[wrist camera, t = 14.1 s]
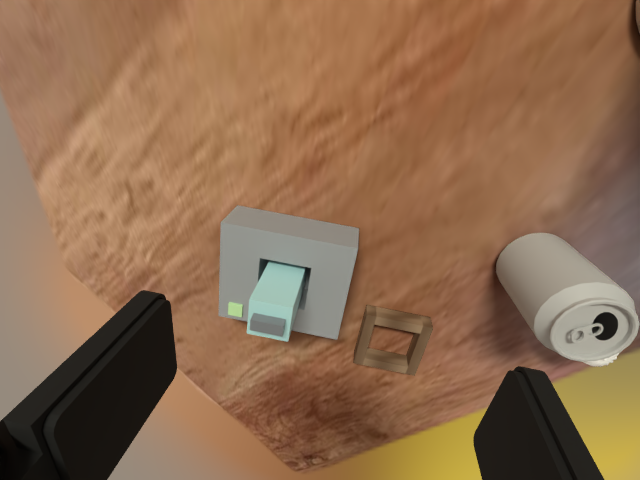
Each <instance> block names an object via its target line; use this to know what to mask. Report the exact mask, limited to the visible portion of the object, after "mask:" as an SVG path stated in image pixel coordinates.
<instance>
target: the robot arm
mask: <svg viewBox="0 0 640 480" xmlns="http://www.w3.org/2000/svg"><path fill="white" fill-rule="evenodd" d="M636 22H637V26H638V30H639V34H640V0H636ZM176 371H177V362H176V352H175V342H174V333H173V323H172V314H171V304H170V302H169V301H168V300H166V298H165V296H164V295H163V294H160V293H155V292H150V291H145V290H143V291H140V292H139V293H138V294H137V295H136V296H134V297H133V298H132V299H131V300H130V301H129V302H128V303H127V304H126V305H125V306H124V307H123V308H122V309H121V310H119V311H118V312H117V313H116V314H115V315H114V316H113V317H112V318H111V319H110V320H109V321H108V322H107V323H106V324H104V325H103V326H102V327H101V328H100V329H99V330H98V331H97V332H96V333H95V334H94V335H93V336H92V337H90V338H89V339H88V340H87V341H86V342H85V343H84V344H83V345H82V346H81V347H79V348H78V349H77V350H76V351H75V352H74V353H73V354H72V355H71V356H70V357H69V358H68V359H67V360H66V361H64V362H63V363H62V364H61V365H60V366H59V367H58V368H57V369H56V370H55V371H54V372H53V373H52V374H50V375H49V376H48V377H47V378H46V379H45V380H44V381H43V382H42V383H41V384H40V385H39V386H38V387H37V388H35V389H34V390H33V391H32V392H31V393H30V394H29V395H28V396H27V397H26V398H25V399H24V400H23V401H22V402H20V403H19V404H18V405H17V406H16V407H15V408H14V409H13V410H12V411H11V412H10V413H9V414H8V415H7V416H6V417H4V418H3V419H2V420H1V421H0V480H107V479H108V477H109V476H110V474H111V473H112V471H113V470H114V468H115V467H116V465H117V464H118V462H119V461H120V459H121V458H122V456H123V455H124V453H125V452H126V450H127V449H128V447H129V446H130V444H131V443H132V441H133V440H134V438H135V437H136V435H137V434H138V432H139V431H140V429H141V427H142V426H143V425H144V423H145V422H146V420H147V418H148V417H149V415H150V414H151V412H152V411H153V409H154V408H155V406H156V405H157V403H158V402H159V400H160V399H161V397H162V396H163V394H164V393H165V391H166V390H167V388H168V386H169V385H170V384H171V382H172V381H173V379H174V377H175V374H176ZM474 448H475V452H476V456H477V460H478V464H479V468H480V472H481V476H482V480H604V478H603V476H602V475H601V473H600V471H599V469H598V467H597V465H596V464H595V462H594V460H593V458H592V456H591V455H590V453H589V451H588V449H587V447H586V445H585V444H584V442H583V440H582V438H581V436H580V435H579V433H578V431H577V429H576V427H575V425H574V423H573V422H572V420H571V418H570V416H569V414H568V412H567V411H566V409H565V407H564V405H563V403H562V402H561V400H560V398H559V396H558V394H557V392H556V391H555V389H554V387H553V385H552V383H551V381H550V380H549V378H548V376H547V375H546V373H545V372H543V371H540V370H535V369H530V368H525V367H519V366H518V367H516V368H515V369H514V371H511V370H510V371H508V373H507V374H506V376H505V378H504V379H503V381H502V383H501V385H500V387H499V389H498V391H497V392H496V394H495V396H494V398H493V400H492V402H491V404H490V405H489V407H488V409H487V411H486V413H485V415H484V416H483V418H482V420H481V422H480V424H479V426H478V428H477V429H476V431H475V434H474Z"/></svg>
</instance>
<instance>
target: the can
mask: <svg viewBox="0 0 640 480" xmlns="http://www.w3.org/2000/svg"><path fill="white" fill-rule="evenodd" d="M496 273H497V276H498V278H499V281H500V282H501V284H502V285H503V287H504V289H505V290H506V292H507V293H508V295H509V296H510V298H511V299H512V301H513V302H514V304H515V305H516V307H517V308H518V310H519V311H520V313H521V315H522V316H523V318H524V319H525V321H526V322H527V324H528V325H529V327H530V328H531V330H532V331H533V333H534V334H535V336H536V338H537V339H538V340H539V341H540V342H541V343H542V344H543V345H544V346H545V347H546V348H549V349H551V350H553V351H555V352H557V353H558V354H559V355H561V356H563V357H565V358H567V359H569V360H575V361H580V362H587V361H598V360H602V359H606V358H609V357H611V356H613V355H616V354H618V353H620V352H621V351H623V350H624V349H625V348H626V347H628V346H629V345H630V344H631V343H632V341H633V340H634V338H635V337H636V335H637V333H638V329H639V325H640V324H639V319H638V315H637V314H636V310H635V305H634V301H633V299H632V298H631V297H630V296H629V295H628V293H627V292H626V291H625V290H624V289H622V288H621V287H620V286H619V285H618V284H616V283H615V282H614V281H613V280H612V279H610V278H609V277H608V276H607V275H606V274H604V273H603V272H602V271H601V270H599V269H598V268H597V267H596V266H595V265H593V264H592V263H591V262H590V261H589V260H587V259H586V258H585V257H584V256H583V255H581V254H580V253H579V252H578V251H577V250H575V249H574V248H573V247H572V246H571V245H569V244H568V243H567V242H566V241H564V240H563V239H561V238H559V237H558V236H556V235H554V234H548V233H533V234H528V235H525V236H523V237H520V238H517V239H516V240H514V241H513V242H512V243H510V244H509V245H507V247H506V248H505V249H504V250H503V251H502V252H501V254H500V256H499V258H498V261H497V263H496Z"/></svg>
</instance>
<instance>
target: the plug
mask: <svg viewBox="0 0 640 480" xmlns="http://www.w3.org/2000/svg"><path fill="white" fill-rule="evenodd" d="M307 268H308V267H303V266H298V265H293V264H288V263H283V262H277V261H272V260H269V262H268V264H267V266H266V268H265V270H264V272H263V274H262V276H261V278H260V280H259V281H258V283H257V285H256V287H255V289H254V291H253V293H252V295H251V297H250V299H249V310H248V324H247V333H248V334H253V335H258V336H262V337H267V338H272V339H277V340H282V341H287V342H288V340H289V337H290V334H291V330H292V327H293V323H294V320H295V316H296V313H297V309H298V306H299V303H300V299H301V296H302V292H303V289H304V285H305V280H306V274H307Z"/></svg>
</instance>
